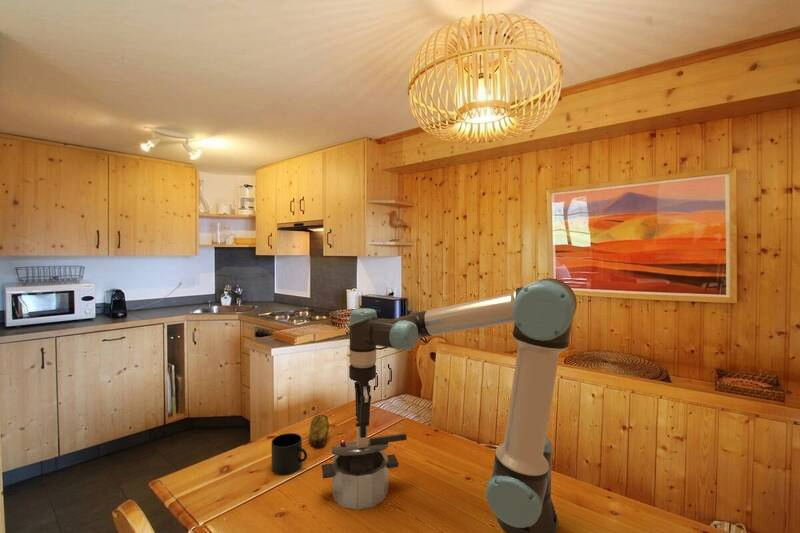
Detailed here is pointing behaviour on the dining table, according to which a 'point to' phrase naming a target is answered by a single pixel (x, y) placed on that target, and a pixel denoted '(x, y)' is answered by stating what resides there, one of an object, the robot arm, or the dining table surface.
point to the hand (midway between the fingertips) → (362, 446)
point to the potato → (319, 430)
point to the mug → (287, 453)
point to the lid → (372, 445)
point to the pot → (359, 479)
